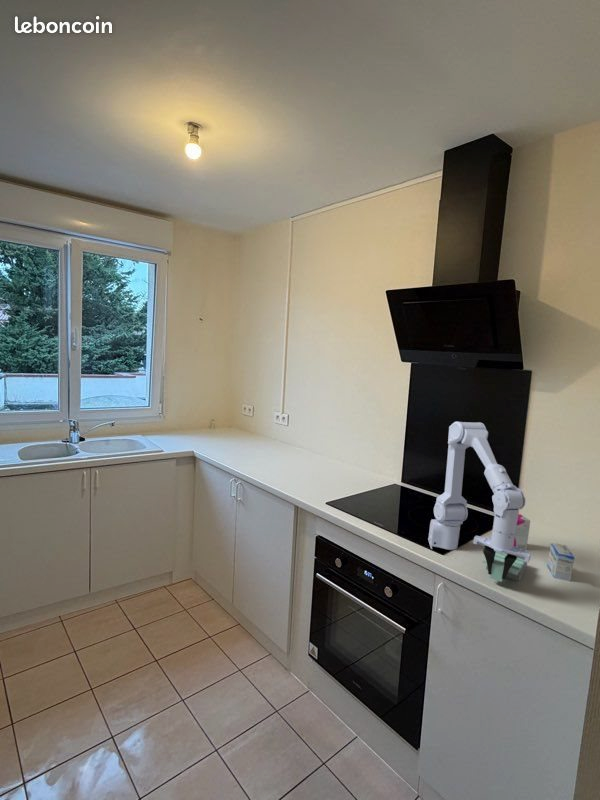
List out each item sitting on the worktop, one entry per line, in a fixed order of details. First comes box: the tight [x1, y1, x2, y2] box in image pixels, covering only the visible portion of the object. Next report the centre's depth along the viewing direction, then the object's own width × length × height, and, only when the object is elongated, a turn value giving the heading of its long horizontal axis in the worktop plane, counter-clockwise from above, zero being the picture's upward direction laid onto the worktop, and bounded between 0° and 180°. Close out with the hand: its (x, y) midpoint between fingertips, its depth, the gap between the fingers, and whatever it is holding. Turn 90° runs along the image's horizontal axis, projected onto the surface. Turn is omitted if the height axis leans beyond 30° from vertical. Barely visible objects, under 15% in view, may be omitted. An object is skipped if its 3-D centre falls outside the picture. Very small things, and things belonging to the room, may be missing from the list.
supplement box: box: [513, 513, 531, 551], centre depth 144 cm, size 6×6×12 cm
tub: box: [485, 562, 528, 582], centre depth 128 cm, size 9×11×4 cm
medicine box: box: [546, 542, 575, 582], centre depth 127 cm, size 8×4×9 cm, turn 163°
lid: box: [482, 552, 525, 582], centre depth 123 cm, size 9×14×4 cm, turn 141°
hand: (497, 575), depth 118 cm, fingers closed on lid, 3 cm apart
